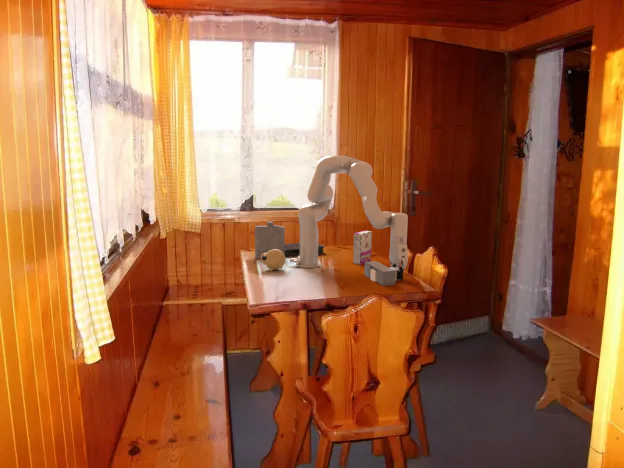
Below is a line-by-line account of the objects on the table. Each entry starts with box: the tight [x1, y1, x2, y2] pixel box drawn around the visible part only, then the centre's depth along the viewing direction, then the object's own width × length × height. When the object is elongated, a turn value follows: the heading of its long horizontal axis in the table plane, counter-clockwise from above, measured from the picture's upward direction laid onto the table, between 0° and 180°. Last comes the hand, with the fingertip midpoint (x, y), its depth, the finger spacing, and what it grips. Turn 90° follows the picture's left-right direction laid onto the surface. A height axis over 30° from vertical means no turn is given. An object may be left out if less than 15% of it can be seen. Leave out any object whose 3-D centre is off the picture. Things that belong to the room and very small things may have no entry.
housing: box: [363, 260, 396, 287], centre depth 235 cm, size 6×20×6 cm, turn 19°
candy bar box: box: [352, 230, 373, 266], centre depth 269 cm, size 11×5×16 cm, turn 143°
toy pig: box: [260, 249, 286, 272], centre depth 249 cm, size 10×12×11 cm
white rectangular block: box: [369, 266, 403, 283], centre depth 236 cm, size 14×5×5 cm, turn 109°
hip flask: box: [254, 221, 286, 260], centre depth 275 cm, size 16×4×20 cm, turn 91°
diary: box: [284, 242, 326, 258], centre depth 292 cm, size 19×25×5 cm
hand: (396, 277), depth 238 cm, fingers closed on white rectangular block, 5 cm apart
